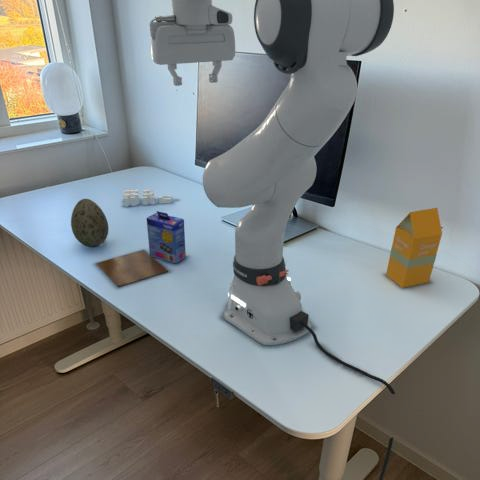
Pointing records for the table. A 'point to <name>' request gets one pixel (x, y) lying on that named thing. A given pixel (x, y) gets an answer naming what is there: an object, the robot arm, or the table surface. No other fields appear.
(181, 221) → the ink cartridge box
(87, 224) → the decorative egg
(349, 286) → the table surface
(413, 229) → the orange juice
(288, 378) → the table surface
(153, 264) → the placemat
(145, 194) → the modular blocks
